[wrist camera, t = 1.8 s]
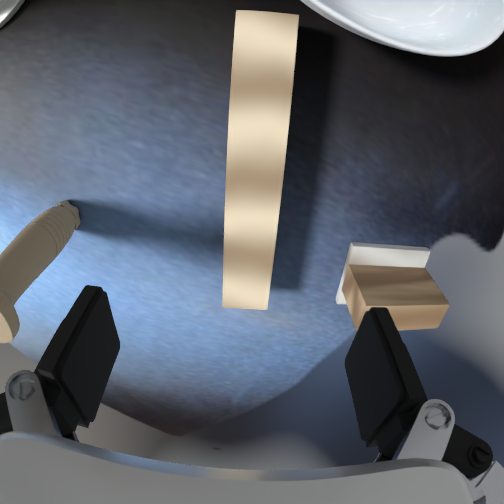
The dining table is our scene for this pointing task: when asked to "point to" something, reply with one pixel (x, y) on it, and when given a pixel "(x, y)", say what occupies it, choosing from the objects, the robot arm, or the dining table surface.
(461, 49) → the serving bowl
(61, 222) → the handle
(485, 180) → the dining table surface
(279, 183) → the beam
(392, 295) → the wooden block on base
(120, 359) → the dining table surface
